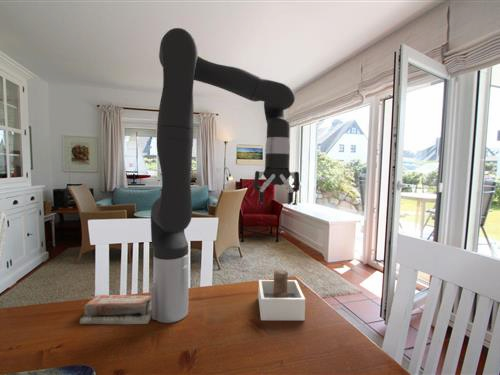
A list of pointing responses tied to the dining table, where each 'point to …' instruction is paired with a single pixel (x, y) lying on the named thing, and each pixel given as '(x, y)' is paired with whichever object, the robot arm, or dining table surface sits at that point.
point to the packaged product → (117, 310)
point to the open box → (281, 302)
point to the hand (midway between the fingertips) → (275, 203)
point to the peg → (280, 284)
